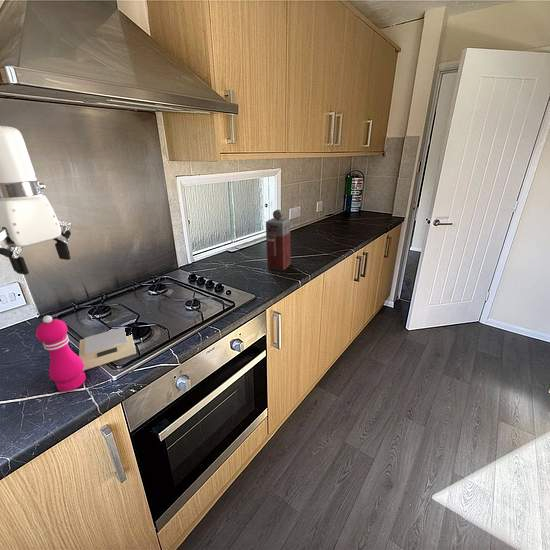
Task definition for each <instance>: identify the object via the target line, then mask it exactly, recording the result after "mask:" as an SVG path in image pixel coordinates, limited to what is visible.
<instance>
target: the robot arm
mask: <svg viewBox="0 0 550 550" xmlns="http://www.w3.org/2000/svg"><path fill="white" fill-rule="evenodd" d="M28 151H29V150H28V149H27V146H26V142H25V140H24V137H23V134H22V132H21V131H20V130H19V129H18V128H16V127H13V126H7V125H0V243H1V242H3V244H4V245H5V246H6V247H3V245H2V244H0V255H2V256H4V257H5V258H8V259H9V262H10V264H11V267H12V270H13V271H14V272H15V273H16V274H18V275H24V276H27V275H29V274H30V273H29V272H30V271H29V269H28V266H27V264H26V261H25V259H24V257H22V256H20V255H21V253H22V252H23V251H22V250H23V249H24V248H26V247H29V246H33V245H37V244H40V243H44V242H48V241H52V240H53V241H54V242H56V243H54V247H55V250H56V252H57V256H58V259H60V260H67V261H69V260H71V259H72V258H71V255H70V254H71V253H70V249H69V247H68V243H69V239H70V237H71V234H72V232H71V231H72V222H70V221H65V220H61V219H58V217H57V215H56V213H55V210H54V209H53V206H52V205H51V203H50V201H49V199H48V198H47V196H46V195H45V194H42V193H43V192H42V190H45V188H46V186H45V184H44V183H43V182H39V180H38V178H37V175H36V173H35V169H34V167H33V164H32V160H31V157H30V154H29V152H28ZM61 227H62V231H61Z"/></svg>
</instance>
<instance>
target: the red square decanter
mask: <svg viewBox="0 0 550 550" xmlns="http://www.w3.org/2000/svg"><path fill="white" fill-rule="evenodd" d="M272 217H273V218H270V219H268V220H267V221H265V235H266V236H265V239H266V240H265V241H266V260H267V261H266V263H267V269H272V270H279V271H285V270H286V269H287V268H288V267H290V265H292V264H291V263H292V262H291V219H290V218H287V217H284V213H283V211H282V210H281V209H276V210H274V211H273V212H272ZM283 217H284V218H283Z"/></svg>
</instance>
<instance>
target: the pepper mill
mask: <svg viewBox="0 0 550 550" xmlns="http://www.w3.org/2000/svg"><path fill="white" fill-rule="evenodd" d="M68 331H69V329H68V326H67V324H66V323H65V321H63V320H61V319H58V318H53V317H52V316H51V315H44V316H43V317H42V322H41V323H40V324H39V325H38V326H37V327H36V330H35V336H36V338H37V340H38V341H39V342H41V343H42V345H43V349H44V350H46V351H48V354H49V359H50V360H49V361H50V362H49V366H48V375H49V378H50V379H51V380H50V381H53V382H55V385H56V388H57V390H58V392H62V393H63V392H64V393H66V392H67V393H68V392H71V391H74V390H75V389H78V388H79V387H81V386H82V385H84V383H85V382H86V380H87V377H86V372H85V370H84V371H83V368H84V363H83V361H82V359H81V358H80V357H79V354H78V355H77V353H75V352H74V351H73V349H71V348H70V345H69V342H70V338H69V336H68V334H67V333H68Z"/></svg>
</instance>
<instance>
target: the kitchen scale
mask: <svg viewBox="0 0 550 550" xmlns="http://www.w3.org/2000/svg"><path fill="white" fill-rule="evenodd" d="M125 327H126V326H123V327H119V328H115V329H112V330H108V331H104V332H100V333H97V334H94V335H90V336H86V337H84V338H83V339H80V340H79V346H78V347H79V350H78V356H79V357H80V358H81V359H82V361H83V363H84V368H83V371H84V372H85V371H86V370H89V369H94V368H96V367H99V366H102V365H106V364H109V363H111V362H115V361H118V360H121V359H123V358H128V357H130V356H133V355H136V354H137V350H136V346H135V341H134V337H133V333H132V334H131V335H129V336H126V332H125Z"/></svg>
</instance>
